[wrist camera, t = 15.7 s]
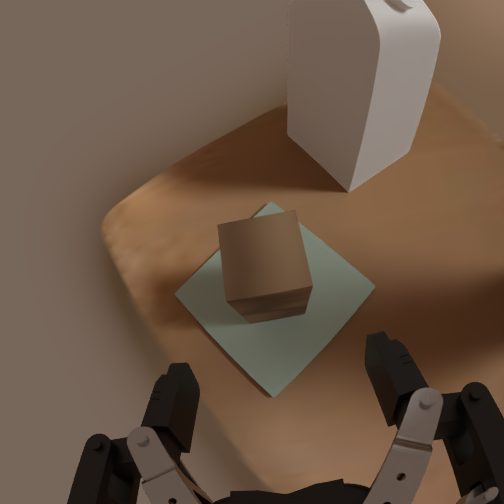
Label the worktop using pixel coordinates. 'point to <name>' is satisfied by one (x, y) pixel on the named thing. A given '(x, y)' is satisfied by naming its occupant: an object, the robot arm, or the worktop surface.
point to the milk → (358, 81)
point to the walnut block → (265, 267)
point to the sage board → (281, 330)
